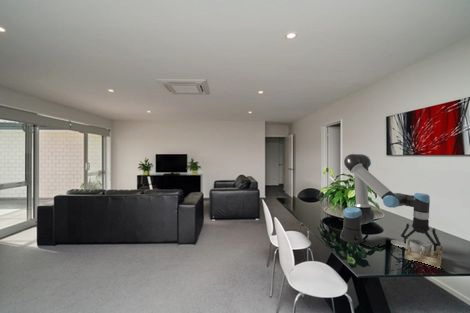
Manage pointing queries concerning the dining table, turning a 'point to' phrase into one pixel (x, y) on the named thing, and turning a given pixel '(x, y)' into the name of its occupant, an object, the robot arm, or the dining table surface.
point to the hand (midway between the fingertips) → (419, 252)
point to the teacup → (419, 247)
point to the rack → (426, 257)
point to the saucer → (399, 243)
